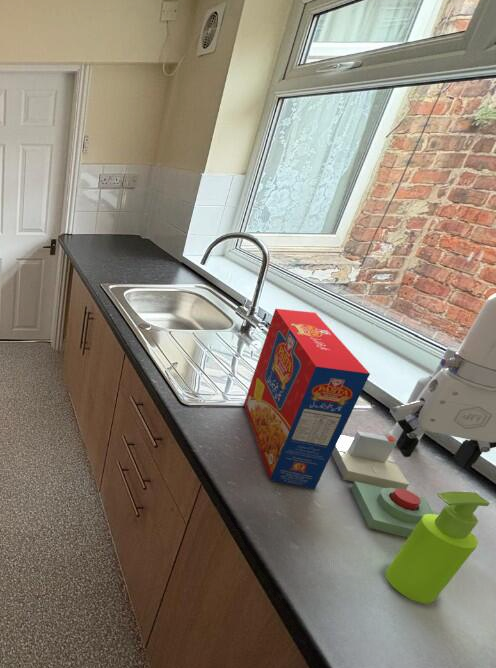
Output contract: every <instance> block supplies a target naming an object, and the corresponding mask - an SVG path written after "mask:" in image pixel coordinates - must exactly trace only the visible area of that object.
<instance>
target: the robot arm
mask: <svg viewBox="0 0 496 668" xmlns="http://www.w3.org/2000/svg"><path fill="white" fill-rule="evenodd" d="M457 349H458V351H457V352H456V353H455V354H454V355H453V357H452V358H449V359H446V358H443V357H442V358H443V359H442V358H441V359H440V361H441V362H439V363H440V364H441V366H444V367H447V368H443V369H441V370H440V371H439V372H438V373H437V374H436V375H435V376H434V377H433V378H432V379H431V381H430V382H429V383H428V384H427V385H426V387H425V388H424V389H423V391H422V392H421V393H420V395H419V396H418V398H417V400H416V401H415V402H413V403H409V404H406V403H405V404H402V405H398V406H395V407H391V408H389V409H390V410H389V412H390V414H391V415H392V416H393V419H395V422H396V423H398V424H399V425H400V427H401V428H402V429H403V432H402V434H401V435H400V437H399V439H398V441H397V443H396V445H397V446H396V448H397V449H398V450H399V451H400V453H401V454H402V456H403V457H404V458H409V457H411V456H412V454H413V453H414V451H415V450H416V449H417V448H416V446H417V444H418V443H419V441H420V440H418V438H417V437H418V436H420V435H421V434H423V433H424V434H425V433H427V432H430V433H434V434H439V435H445V436H449V437H455V438H460V439H465V440H463V441H462V442H461V444H460V446H459V447H458V449H457V451H456V452H455V453H454V455H453V459H454V460H455V461H456V462H457V464H458V465H459V466H460V467H461V468H462V469H463V470H467V471H468V470H470V469H471V468H472V466H473V465H474V464H475V463H477V461H478V460H479V458H480V457H481V455H482V454H483V453H488V452H489V453H490V451H491V449H493V448H496V293H494V294H492V295H490V296H489V297H488V298H487V299H486V301H485V302H484V304H483V305H482V308H481V309H480V311H479V313H478V314H477V316H476V317H475V320H474V321H473V323H472V325H471V326H470V328H469V330H468V332H467V333H466V335H465V337H464V338H463V340H462V342H461V344H460V345H459V347H458V348H457ZM409 414H411V415H413V416H414V418H412V419H410V420H409V421H407V420H406V419H405V416H406V415H409ZM417 425H419V426H417ZM416 426H417V427H416ZM414 427H415V428H414ZM413 428H414V429H413ZM424 434H423V435H424ZM419 444H420V443H419ZM417 447H418V446H417Z"/></svg>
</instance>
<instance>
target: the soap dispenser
mask: <svg viewBox="0 0 496 668" xmlns="http://www.w3.org/2000/svg"><path fill="white" fill-rule="evenodd" d="M436 495H437V497H438V498H439V499H441V500H442V501H443V502H444V503H446V504H445V505H444V507H443V508H442V510H441V511H440V512H439V514H436V513H435V514H426V515H424V516H423V517H422V518H421V520H420V521H419V523H418V524H417V526H416V527H415V529H414V530H413V532H412V533H411V535H410V536H409V538H407V539H406V541H405V542H404V543H403V545H402V547H401V548H400V550H399V551H398V553H397V554H396V556H394V558H393V560H392V562H391V563H390V565H389V566H388V568H387V569H386V570H385V578H386V580H387V582H389V584H390V585H391V586H392V588H394V590H396V591H397V592H398V593H399V594H401V595H402V596H404V597H405V598H407V599H409V600H411V601H414V602H417V603H421V604H431V603H433V602H434V601H435V600H436V599H437V598H438V596H439V595H440V594H441V593H442V591H443V590H444V589H445V587H447V585H448V584H449V582H450V581H451V580H452V579H453V577H454V576H455V575H456V574H457V572H458V571H459V570H460V569H461V567H462V566H463V565H464V564H465V562H466V561H467V560H468V558H469V557H470V556H471V555H472V554H473V552H474V551H475V550H476V549H477V548H478V545H479V541H478V539H477V537H476V536H475V535H474V533H473V532H472V531H473V530H474V528H475V527H476V526H477V524H478V522H479V519H478V517H477V516H476V515H475V514H474V512H475V511H476V510H477V508H479V507H488V506H489V505H490V502H489V501H488V500H486V499H485V497H483V496H481V495H480V494H479V493H478V492H472V491H444V492H439V493H436Z"/></svg>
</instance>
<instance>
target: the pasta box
mask: <svg viewBox="0 0 496 668" xmlns="http://www.w3.org/2000/svg"><path fill="white" fill-rule="evenodd" d="M370 375H371V373H370V372H369V371H368V370H367V368H365V365H363V364H362V363H361V362H360V361H359V360H358V358H357V357H356V356H355V355H354V354H353V352H351V351H350V350H349V349H348V347H347V346H346V345H345V344H344V342H342V340H341V339H339V337H338V336H337V335H336V334H335V333H334V332H333V330H332V329H330V327H329V326H328V325H327V324H326V323H325V322H324V321H323V319H322V318H321V317H320V316H319V315H318V314H317V313H316V312H312V311H303V310H294V309H293V310H292V309H282V308H275V309H274V312H273V314H272V318H271V322H270V324H269V327H268V330H267V332H266V335H265V339H264V342H263V345H262V347H261V351H260V354H259V358H258V360H257V363H256V366H255V370H254V372H253V375H252V378H251V382H250V384H249V388H248V390H247V394H246V396H245V400H244V401H243V402H244V403H243V407H244V409H245V413H246V416H247V419H248V421H249V425H250V426H251V427H250V428H251V430H252V432H253V435H254V438H255V441H256V445H257V447H258V450H259V453H260V456H261V458H262V462H263V464H264V467H265V470H266V473H267V476H268V479H269V481H273V482H278V483H282V484H287V485H291V486H297V487H301V488H305V489H311V490H316V488H317V486H318V483H319V482H320V479H321V478H322V475H323V473H324V471H325V469H326V467H327V465H328V463H329V461H330V458H331V456H332V452H333V450H334V448H335V446H336V444H337V442H338V440H339V438H340V435H342V434H343V431H344V429H345V427H346V425H347V423H348V421H349V419H350V417H351V414H352V413H353V410H354V408H355V406H356V404H357V402H358V400H359V398H360V396H361V394H362V391H363V389H364V387H365V385H366V382H367V381H368V379H369V377H370Z"/></svg>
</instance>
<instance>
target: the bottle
mask: <svg viewBox="0 0 496 668" xmlns="http://www.w3.org/2000/svg"><path fill="white" fill-rule="evenodd" d="M458 349H459V348H457V347H451V346H448V347H447V348H446V350H445V352H444V354H443V355H442V358H441V360H442V359H443V358H446V359H449V358H452V357H453V355H454V354H455V353H456V352H457V351H458ZM441 360H440V362H441ZM440 362H439V363H438V365H437V367H436V368H435V370H434V372H433V373H432V374H429V376H423V377H420V378H418V379H417V382H416V384H415V385H414V387H413V389H412V391H411V393H410V395H409V398H408V399H407V401H406V403H405V405H406V404H409V403H413V402H415V401H416V400H417V398H418V396H419V395H420V393H421V392H422V391H423V389H424V388H425V387H426V385H427V384H428V383H429V382H430V381H431V379H432V378H433V377H434V376H435V375H436V374H437V373H438V372H439V371H440V370H441V369H443V368H447V367H444V366H441V364H440ZM412 418H414V416H413V415H411V414H409V415H406V416H405V419H406V420H407V421H409V420H410V419H412ZM417 426H419V425H417ZM417 426H416V427H417ZM414 428H415V427H414ZM414 428H413V429H414ZM402 432H403V429H402V428H401V427H400V425H399V424H398V423H397V422H396V423H395V425H394V427H393V429H392V430H390V431H389V433H388V435H387V436H391V437H393V438H394V440H395V441H396V443H397V441H398V439H399V437H400V435H401V434H402ZM424 434H425V433H423V434H421V435H420V436H418V437H417V438H418V440H419V443H418V444H417V446H416V448H415V449H417V448H418V447H419V445H420V440H421V439H422V437H423V436H424ZM394 447H397V445H395V446H394Z"/></svg>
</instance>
